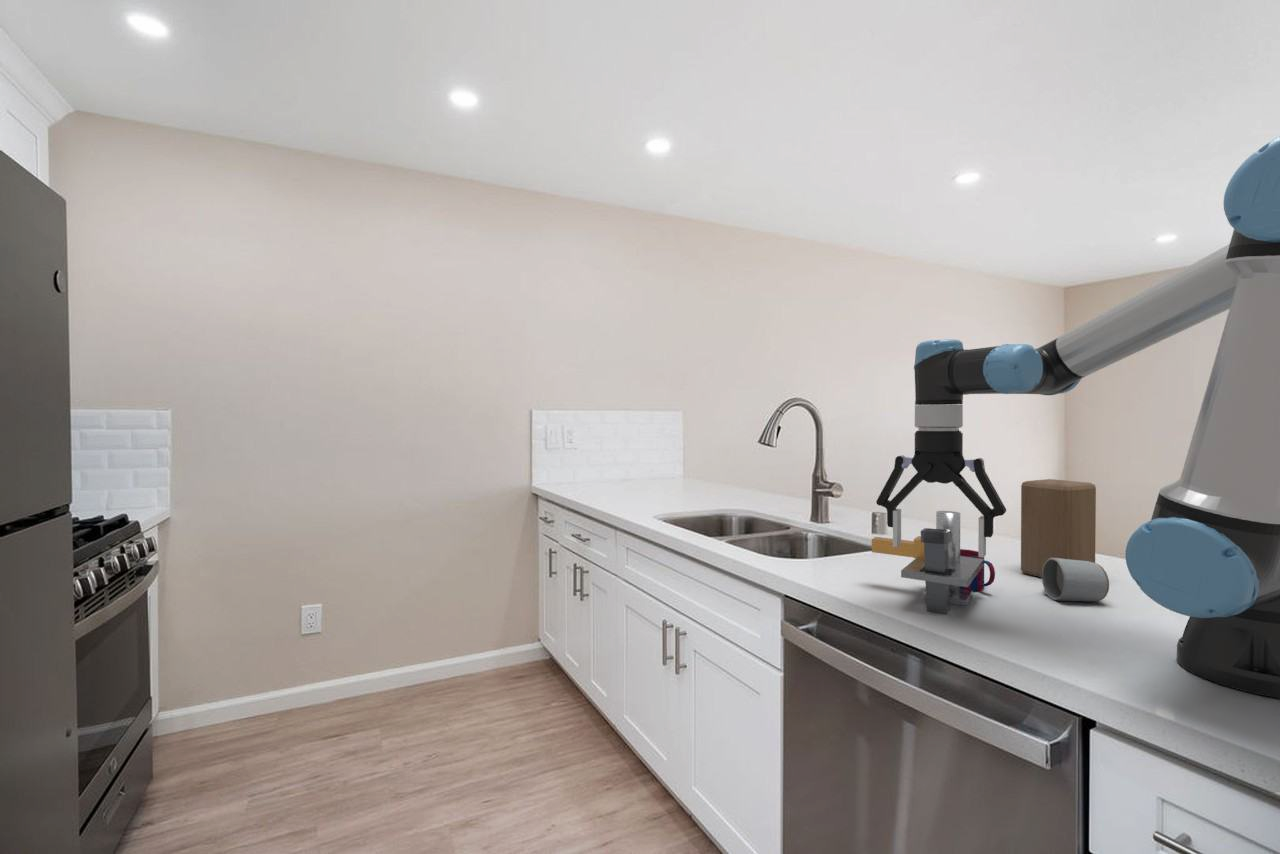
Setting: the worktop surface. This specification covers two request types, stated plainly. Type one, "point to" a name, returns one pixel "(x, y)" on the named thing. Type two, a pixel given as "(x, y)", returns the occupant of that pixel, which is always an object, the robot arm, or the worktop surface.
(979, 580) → the cup
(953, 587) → the grey plate with post
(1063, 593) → the grey cylinder
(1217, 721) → the worktop surface
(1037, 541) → the block
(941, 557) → the wedge pin
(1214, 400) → the robot arm
